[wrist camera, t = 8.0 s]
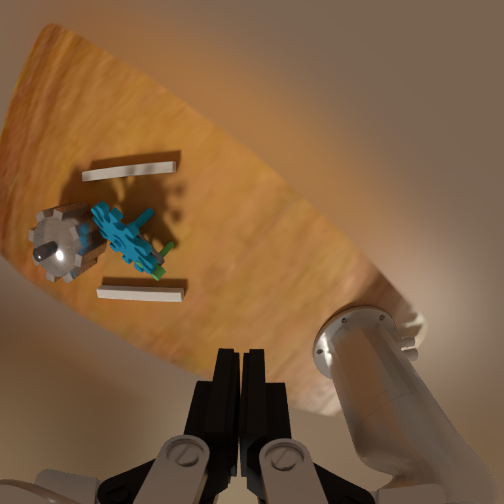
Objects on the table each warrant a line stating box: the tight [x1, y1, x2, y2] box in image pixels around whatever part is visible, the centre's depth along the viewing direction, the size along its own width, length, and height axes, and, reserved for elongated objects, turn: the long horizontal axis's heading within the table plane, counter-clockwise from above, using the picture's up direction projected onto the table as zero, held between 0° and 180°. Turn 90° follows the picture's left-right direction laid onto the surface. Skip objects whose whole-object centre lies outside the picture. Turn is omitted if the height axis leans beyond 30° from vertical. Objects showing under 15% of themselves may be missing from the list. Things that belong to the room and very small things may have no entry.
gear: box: [91, 201, 174, 280], centre depth 30 cm, size 11×6×10 cm
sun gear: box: [29, 202, 106, 283], centre depth 28 cm, size 9×9×9 cm
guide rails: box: [82, 161, 184, 302], centre depth 31 cm, size 12×16×2 cm
